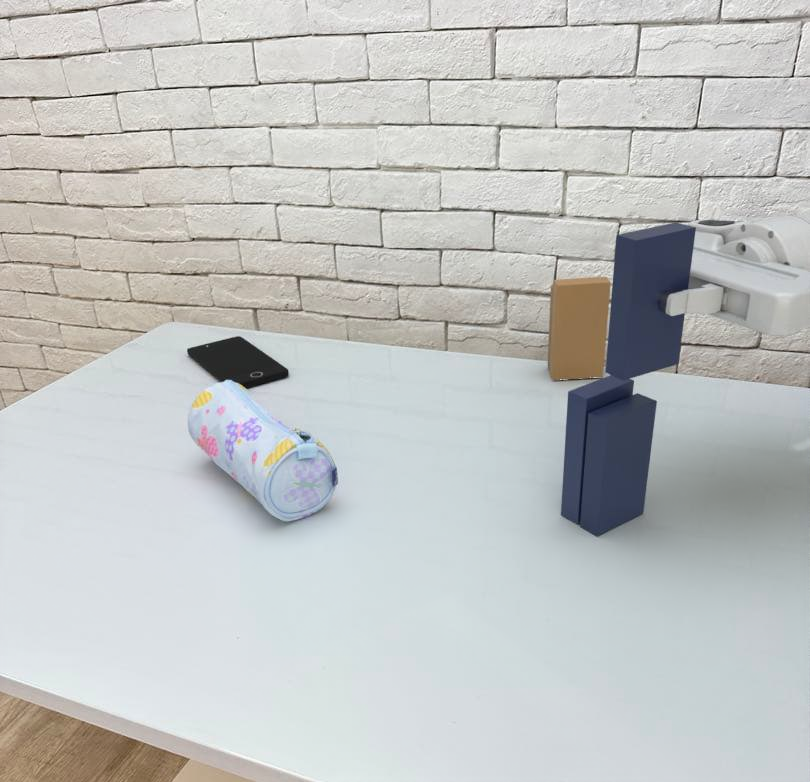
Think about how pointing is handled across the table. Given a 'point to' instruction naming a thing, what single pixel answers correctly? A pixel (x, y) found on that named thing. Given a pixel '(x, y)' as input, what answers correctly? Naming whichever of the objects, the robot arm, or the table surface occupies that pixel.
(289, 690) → the table surface
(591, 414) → the navy books
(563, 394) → the table surface
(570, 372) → the tan rectangular block
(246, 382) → the cell phone
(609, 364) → the navy book
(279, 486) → the pencil case
